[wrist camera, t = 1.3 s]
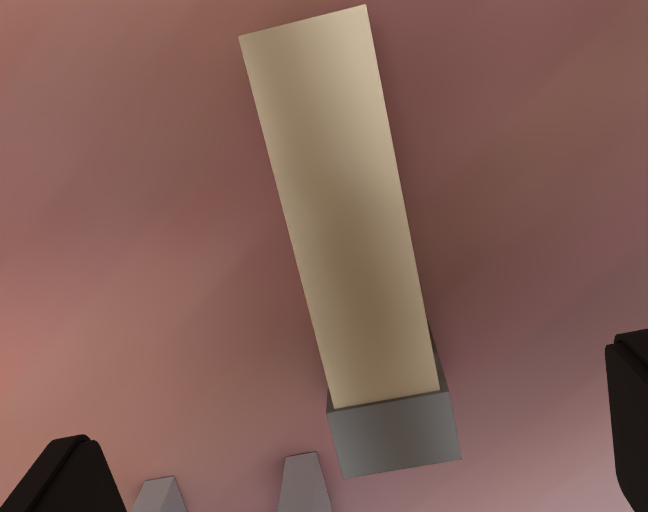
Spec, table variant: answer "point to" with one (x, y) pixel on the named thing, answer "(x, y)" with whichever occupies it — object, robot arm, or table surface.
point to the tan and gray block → (351, 240)
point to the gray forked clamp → (295, 497)
